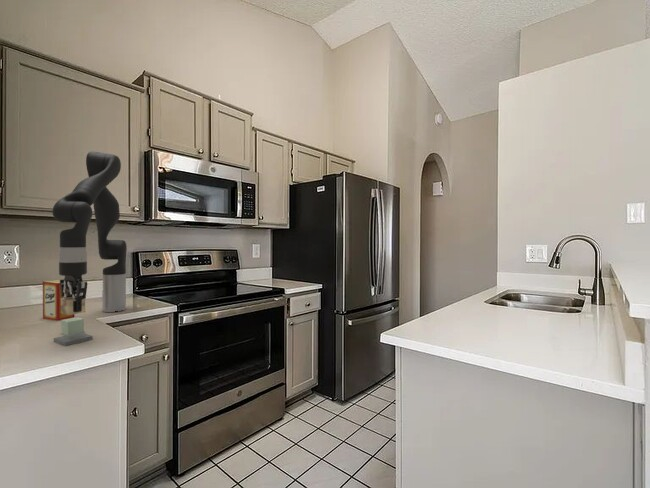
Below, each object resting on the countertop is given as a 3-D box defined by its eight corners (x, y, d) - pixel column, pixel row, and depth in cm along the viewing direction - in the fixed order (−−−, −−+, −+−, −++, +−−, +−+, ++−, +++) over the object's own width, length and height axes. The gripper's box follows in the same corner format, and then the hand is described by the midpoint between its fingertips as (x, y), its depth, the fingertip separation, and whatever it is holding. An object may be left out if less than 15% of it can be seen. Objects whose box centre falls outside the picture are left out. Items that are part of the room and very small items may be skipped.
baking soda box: (74, 317, 142) (74, 280, 141) (57, 320, 135) (57, 282, 135) (60, 315, 145) (59, 278, 144) (42, 318, 139) (42, 280, 138)
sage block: (61, 333, 119) (61, 320, 119) (77, 330, 123) (77, 317, 123) (67, 336, 116) (67, 322, 116) (83, 332, 121) (83, 319, 121)
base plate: (53, 341, 110) (53, 338, 110) (80, 335, 117) (80, 332, 117) (65, 345, 106) (64, 342, 106) (92, 339, 113) (92, 335, 113)
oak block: (60, 313, 110) (60, 298, 110) (77, 310, 114) (77, 296, 114) (68, 315, 108) (67, 299, 107) (85, 312, 112) (85, 297, 112)
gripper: (96, 261, 110) (96, 311, 111) (75, 259, 117) (75, 306, 118) (70, 262, 104) (70, 315, 104) (49, 260, 111) (50, 310, 111)
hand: (73, 310), depth 111 cm, fingers closed on oak block, 5 cm apart
